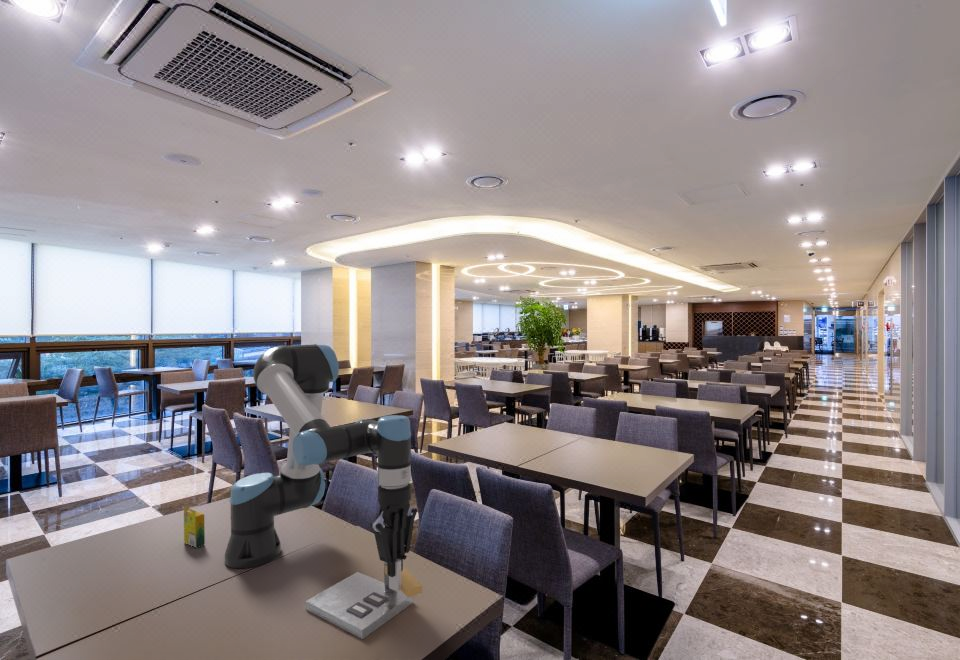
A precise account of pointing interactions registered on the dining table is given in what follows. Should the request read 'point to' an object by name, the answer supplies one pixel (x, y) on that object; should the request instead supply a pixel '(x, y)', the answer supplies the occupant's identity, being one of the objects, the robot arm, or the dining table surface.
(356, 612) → the label
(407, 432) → the robot arm
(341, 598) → the plate
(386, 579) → the hinge post
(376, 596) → the label
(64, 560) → the dining table surface
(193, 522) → the crayon box
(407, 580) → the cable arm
